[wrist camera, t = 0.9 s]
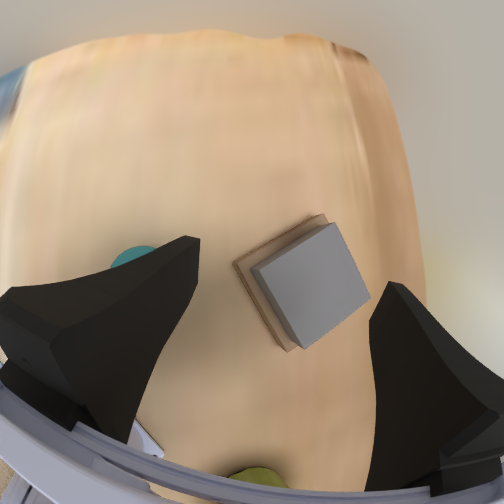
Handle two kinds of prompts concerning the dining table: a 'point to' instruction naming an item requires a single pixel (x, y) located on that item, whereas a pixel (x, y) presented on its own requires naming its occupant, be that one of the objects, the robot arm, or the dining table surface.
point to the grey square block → (312, 284)
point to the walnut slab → (254, 288)
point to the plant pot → (260, 477)
